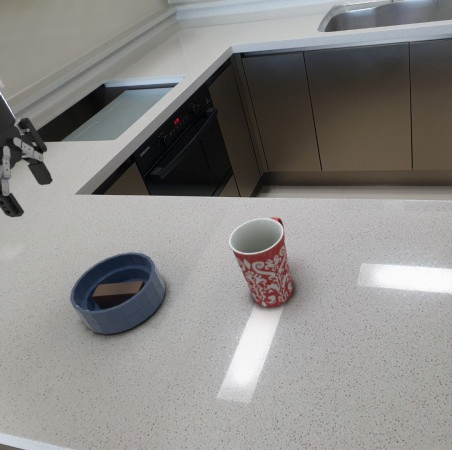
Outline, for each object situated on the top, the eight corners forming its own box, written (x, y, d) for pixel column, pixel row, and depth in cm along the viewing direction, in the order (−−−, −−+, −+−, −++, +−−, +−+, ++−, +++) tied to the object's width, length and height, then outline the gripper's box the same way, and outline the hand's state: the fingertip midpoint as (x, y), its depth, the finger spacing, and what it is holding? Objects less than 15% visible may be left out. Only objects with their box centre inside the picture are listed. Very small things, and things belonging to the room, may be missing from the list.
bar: (99, 308, 86) (91, 296, 83) (106, 296, 88) (98, 284, 86) (144, 305, 84) (137, 292, 82) (150, 293, 87) (143, 280, 84)
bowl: (116, 348, 78) (101, 326, 74) (70, 316, 86) (54, 294, 83) (182, 290, 87) (171, 267, 83) (134, 265, 95) (122, 243, 91)
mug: (286, 316, 77) (269, 257, 69) (239, 307, 81) (218, 249, 72) (312, 265, 86) (300, 207, 78) (269, 258, 89) (253, 202, 81)
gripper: (-23, 83, 67) (35, 176, 77) (-95, 127, 56) (-17, 230, 66) (23, 75, 66) (75, 171, 76) (-42, 119, 55) (29, 225, 65)
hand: (32, 198), depth 71 cm, fingers open, 8 cm apart
